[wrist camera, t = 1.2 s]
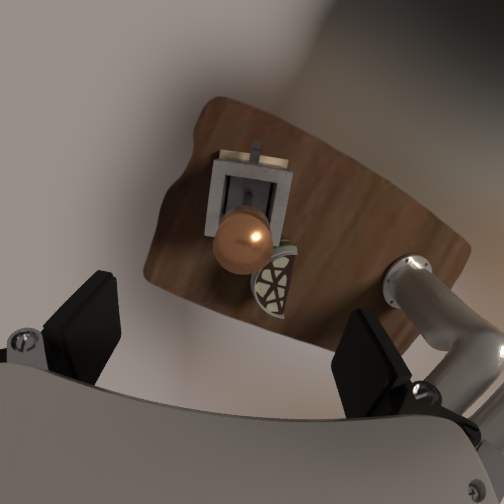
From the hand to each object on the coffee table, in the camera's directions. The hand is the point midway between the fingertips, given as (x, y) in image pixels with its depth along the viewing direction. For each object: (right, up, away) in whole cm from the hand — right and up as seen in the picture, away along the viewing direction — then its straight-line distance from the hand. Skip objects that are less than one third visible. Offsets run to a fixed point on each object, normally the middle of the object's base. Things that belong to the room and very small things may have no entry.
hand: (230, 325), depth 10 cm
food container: (+4, +1, +42) cm, 42 cm away
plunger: (0, +10, +27) cm, 29 cm away
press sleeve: (+1, +15, +34) cm, 37 cm away
